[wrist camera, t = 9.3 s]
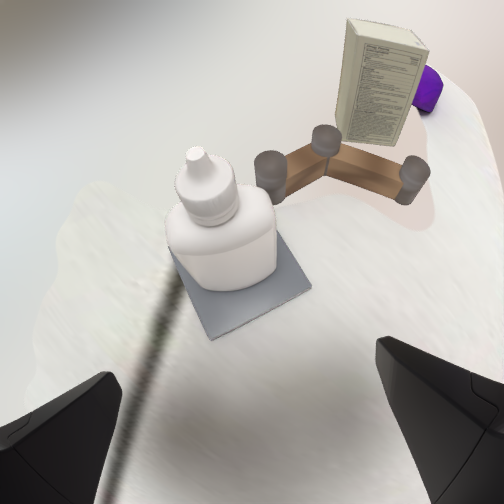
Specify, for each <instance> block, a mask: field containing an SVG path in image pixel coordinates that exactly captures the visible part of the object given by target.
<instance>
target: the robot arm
mask: <svg viewBox="0 0 504 504" xmlns="http://www.w3.org/2000/svg"><path fill="white" fill-rule="evenodd" d="M375 360H376V366H377V369H378V372H379V375H380V378H381V381H382V384H383V387H384V390H385V393H386V396H387V399H388V402H389V405H390V407H391V409H392V411H393V414H394V416H395V418H396V420H397V422H398V425H399V427H400V429H401V431H402V433H403V436H404V438H405V440H406V442H407V445H408V447H409V449H410V452H411V454H412V456H413V459H414V461H415V464H416V466H417V468H418V471H419V473H420V476H421V478H422V481H423V483H424V486H425V488H426V491H427V493H428V496H429V499H430V501H431V504H504V384H502V383H499V382H496V381H493V380H491V379H488V378H486V377H483V376H480V375H478V374H476V373H473V372H471V373H470V371H468V370H466V369H464V368H461V367H459V366H457V365H454V364H452V363H450V362H447V361H445V360H443V359H441V358H438V357H436V356H434V355H431V354H429V353H427V352H425V351H422V350H420V349H418V348H415V347H413V346H411V345H409V344H406V343H404V342H402V341H400V340H398V339H395V338H393V337H391V336H385V337H382V338H378V339H377V341H376V358H375ZM121 398H122V389H121V387H120V385H119V383H118V381H117V379H116V377H115V376H114V374H113V373H112V372H105V371H103V372H100V373H98V374H97V375H95V376H93V377H92V378H90V379H88V380H86V381H85V382H83V383H81V384H80V385H78V386H76V387H74V388H73V389H71V390H69V391H67V392H66V393H64V394H62V395H60V396H59V397H57V398H55V399H53V400H52V401H50V402H48V403H46V404H45V405H43V406H41V407H39V408H37V409H36V410H34V411H33V412H30V413H28V414H26V415H25V416H23V417H21V418H19V419H17V420H15V421H13V422H11V423H9V424H7V425H4V426H2V427H0V504H94V500H95V496H96V492H97V488H98V484H99V481H100V477H101V473H102V470H103V466H104V463H105V459H106V456H107V452H108V449H109V446H110V443H111V439H112V436H113V433H114V430H115V426H116V421H117V417H118V412H119V407H120V403H121Z"/></svg>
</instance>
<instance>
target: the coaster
mask: <svg viewBox="0 0 504 504" xmlns="http://www.w3.org/2000/svg"><path fill="white" fill-rule="evenodd" d="M168 248H169V250H170V253H171V255H172V257H173V260H174V262H175V265H176V267H177V269H178V272H179V274H180V276H181V279H182V281H183V283H184V286H185V288H186V290H187V292H188V295H189V297H190V299H191V301H192V304H193V306H194V308H195V310H196V312H197V315H198V317H199V319H200V321H201V323H202V325H203V327H204V329H205V331H206V334H207V336H208V338H209V340H211V341H212V340H214V339H216V338H218V337H220V336H222V335H224V334H226V333H228V332H230V331H232V330H234V329H236V328H238V327H240V326H242V325H244V324H246V323H248V322H250V321H252V320H254V319H256V318H257V317H259V316H261V315H263V314H265V313H267V312H269V311H271V310H273V309H274V308H276V307H278V306H280V305H282V304H284V303H285V302H287V301H289V300H291V299H293V298H295V297H296V296H298V295H300V294H302V293H304V292H305V291H307V290H309V289H311V287H312V285H311V284H310V282H309V280H308V279H307V277H306V275H305V274H304V272H303V271H302V269H301V267H300V266H299V264H298V262H297V261H296V259H295V258H294V256H293V254H292V253H291V251H290V250H289V248H288V246H287V245H286V243H285V242H284V240H283V239H282V237H281V235H280V234H279V232H278V231H277V258H276V269H275V270H274V272H273V273H272V274H271V275H269V276H268V277H267V278H265V279H264V280H262V281H260V282H258V283H257V284H254V285H252V286H250V287H247V288H244V289H240V290H235V291H211V290H206V289H204V288H202V287H201V286H200V285H199V284H198V283H197V282H196V280H195V279H194V278H193V277H192V276H191V275H190V274H189V272H188V271H187V270H186V269H185V268H184V266H183V265H182V264H181V263H180V261H179V260H178V259H177V258H176V256H175V255H174V254H173V252H172V251H171V249H170V247H169V246H168Z"/></svg>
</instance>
